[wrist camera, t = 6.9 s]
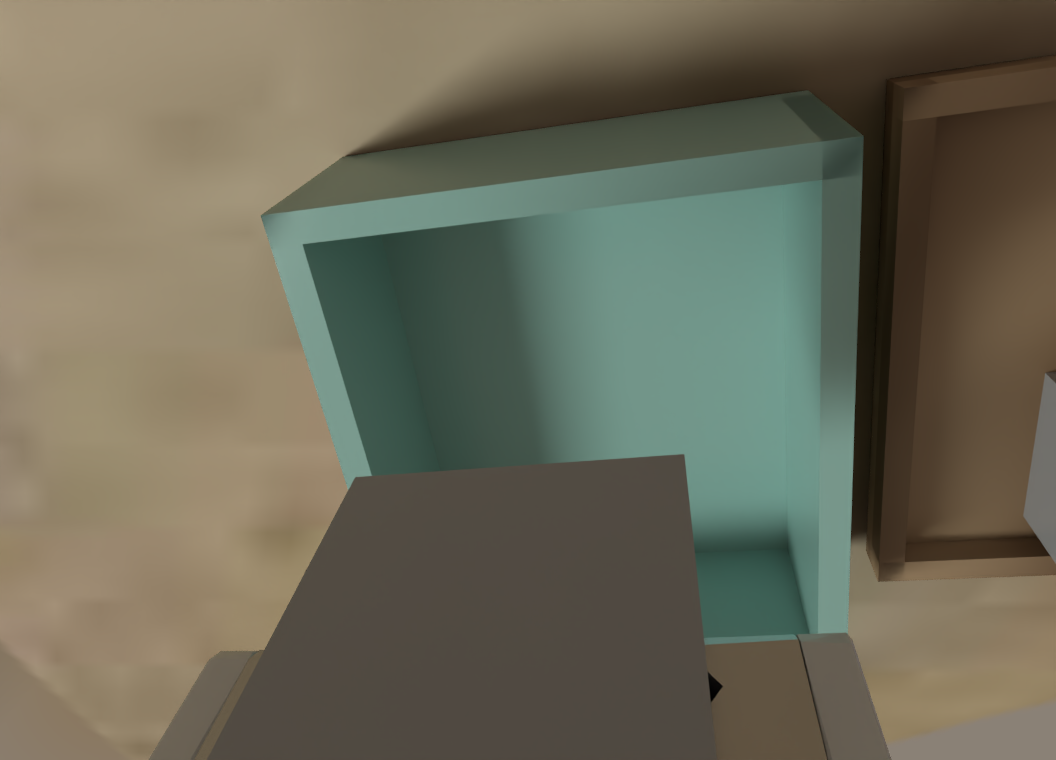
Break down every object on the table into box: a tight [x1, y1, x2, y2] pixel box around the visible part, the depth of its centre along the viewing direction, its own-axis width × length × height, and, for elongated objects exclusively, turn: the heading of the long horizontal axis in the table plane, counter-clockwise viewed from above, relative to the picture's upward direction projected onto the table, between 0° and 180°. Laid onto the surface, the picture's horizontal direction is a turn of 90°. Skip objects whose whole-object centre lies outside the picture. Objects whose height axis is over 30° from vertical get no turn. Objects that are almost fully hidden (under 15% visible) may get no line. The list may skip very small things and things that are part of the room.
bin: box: [261, 90, 864, 638], centre depth 18 cm, size 10×12×4 cm
